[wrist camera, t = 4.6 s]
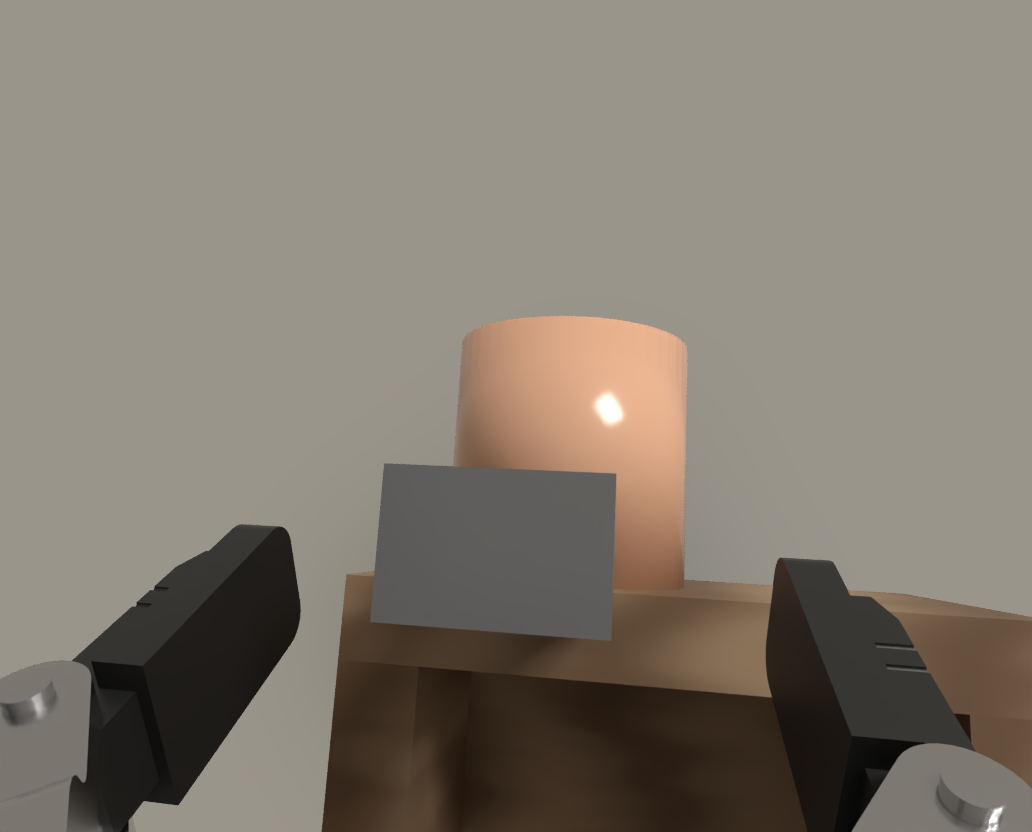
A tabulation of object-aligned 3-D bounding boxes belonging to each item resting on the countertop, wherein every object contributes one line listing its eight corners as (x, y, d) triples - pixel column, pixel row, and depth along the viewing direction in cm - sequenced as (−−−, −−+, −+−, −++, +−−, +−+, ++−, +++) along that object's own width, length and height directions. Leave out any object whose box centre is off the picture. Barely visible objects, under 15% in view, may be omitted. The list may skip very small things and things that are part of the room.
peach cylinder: (222, 610, 9) (284, 119, 10) (472, 566, 25) (484, 374, 26) (787, 654, 8) (781, 101, 9) (673, 579, 24) (677, 379, 25)
